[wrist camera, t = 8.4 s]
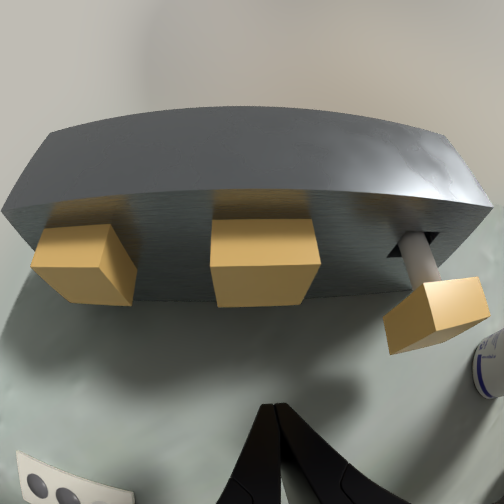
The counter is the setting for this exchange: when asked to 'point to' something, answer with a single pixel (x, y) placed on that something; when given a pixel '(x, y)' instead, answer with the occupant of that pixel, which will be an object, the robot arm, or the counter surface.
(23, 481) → the card
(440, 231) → the console
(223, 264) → the middle button
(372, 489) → the robot arm
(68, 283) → the left button
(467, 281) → the right button
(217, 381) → the counter surface
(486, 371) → the energy drink
